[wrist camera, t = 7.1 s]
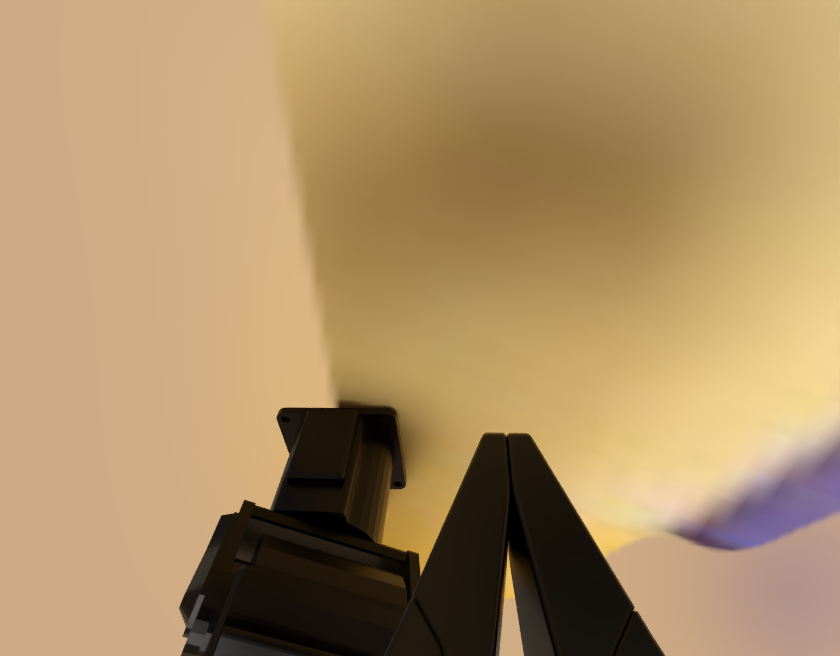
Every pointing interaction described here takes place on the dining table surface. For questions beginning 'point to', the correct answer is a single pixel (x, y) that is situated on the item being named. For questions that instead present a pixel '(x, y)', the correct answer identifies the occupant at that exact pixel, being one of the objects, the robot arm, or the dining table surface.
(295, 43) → the dining table surface
